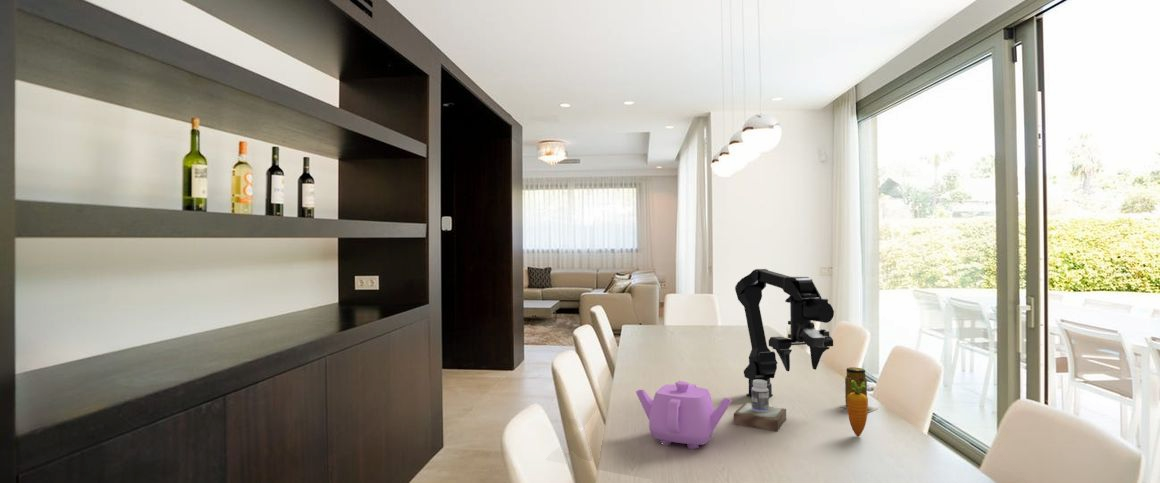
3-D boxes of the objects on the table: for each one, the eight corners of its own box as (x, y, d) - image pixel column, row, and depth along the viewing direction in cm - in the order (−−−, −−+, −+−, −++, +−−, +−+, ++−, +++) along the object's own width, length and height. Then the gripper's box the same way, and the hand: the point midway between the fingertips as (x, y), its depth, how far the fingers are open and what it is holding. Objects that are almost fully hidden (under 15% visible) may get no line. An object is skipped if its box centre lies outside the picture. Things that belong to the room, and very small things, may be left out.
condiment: (850, 402, 172) (849, 365, 172) (878, 408, 165) (877, 369, 166) (839, 407, 167) (839, 368, 167) (868, 413, 161) (867, 373, 161)
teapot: (735, 447, 134) (734, 387, 135) (673, 458, 127) (672, 395, 128) (690, 424, 152) (690, 371, 152) (634, 433, 145) (633, 377, 145)
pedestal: (733, 424, 152) (733, 412, 152) (744, 412, 162) (744, 401, 162) (777, 431, 146) (777, 419, 146) (786, 419, 156) (786, 407, 156)
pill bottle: (749, 407, 156) (748, 379, 156) (764, 407, 156) (764, 378, 157) (755, 412, 151) (755, 383, 151) (771, 412, 152) (771, 382, 152)
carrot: (866, 434, 143) (865, 378, 143) (870, 440, 138) (869, 382, 138) (846, 432, 144) (845, 376, 145) (848, 438, 140) (848, 381, 140)
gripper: (789, 323, 152) (790, 378, 151) (846, 320, 156) (846, 374, 156) (767, 318, 162) (767, 369, 162) (820, 316, 167) (821, 366, 166)
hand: (801, 370), depth 161 cm, fingers open, 9 cm apart
